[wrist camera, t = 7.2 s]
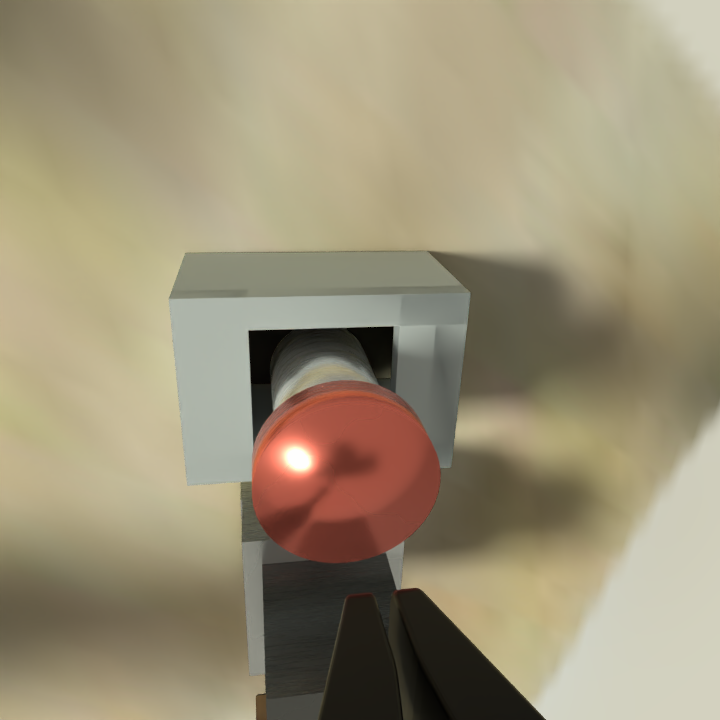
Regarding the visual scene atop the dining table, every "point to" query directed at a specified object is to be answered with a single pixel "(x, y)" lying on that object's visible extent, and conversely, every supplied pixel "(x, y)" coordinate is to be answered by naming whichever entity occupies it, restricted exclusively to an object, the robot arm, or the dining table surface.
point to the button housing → (307, 311)
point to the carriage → (301, 613)
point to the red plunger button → (339, 454)
